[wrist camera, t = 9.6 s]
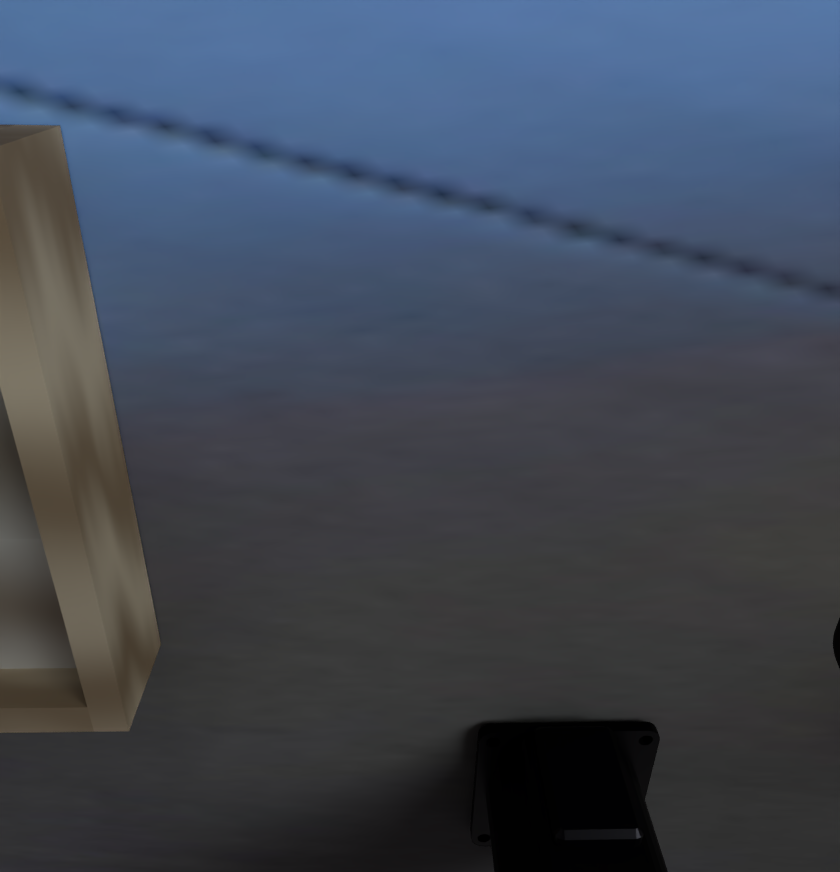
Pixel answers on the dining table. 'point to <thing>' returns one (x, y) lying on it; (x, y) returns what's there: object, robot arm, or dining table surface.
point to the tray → (61, 471)
